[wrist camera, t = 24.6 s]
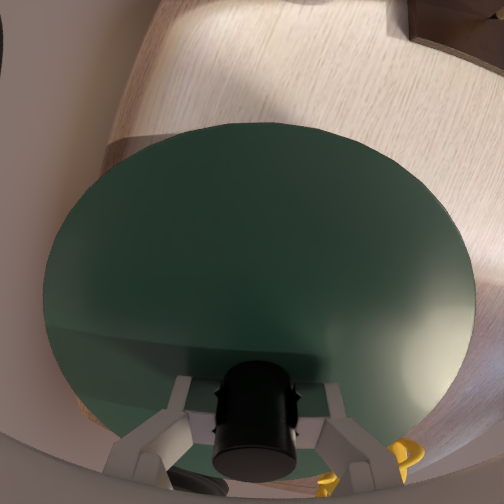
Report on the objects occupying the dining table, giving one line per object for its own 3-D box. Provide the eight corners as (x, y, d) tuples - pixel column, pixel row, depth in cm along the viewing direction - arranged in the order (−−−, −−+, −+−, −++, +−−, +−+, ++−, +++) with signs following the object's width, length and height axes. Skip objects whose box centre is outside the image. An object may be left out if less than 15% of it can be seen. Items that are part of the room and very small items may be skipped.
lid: (110, 443, 15) (87, 504, 11) (29, 137, 9) (-72, 161, 4) (389, 457, 15) (405, 519, 10) (503, 163, 8) (598, 197, 4)
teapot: (298, 462, 38) (301, 522, 28) (309, 411, 33) (318, 486, 24) (386, 452, 38) (400, 507, 28) (414, 400, 33) (440, 464, 23)
